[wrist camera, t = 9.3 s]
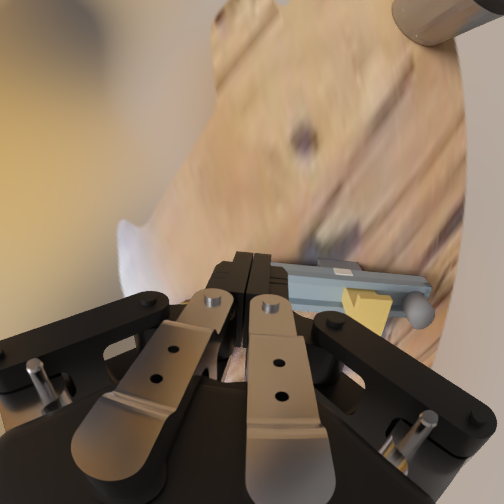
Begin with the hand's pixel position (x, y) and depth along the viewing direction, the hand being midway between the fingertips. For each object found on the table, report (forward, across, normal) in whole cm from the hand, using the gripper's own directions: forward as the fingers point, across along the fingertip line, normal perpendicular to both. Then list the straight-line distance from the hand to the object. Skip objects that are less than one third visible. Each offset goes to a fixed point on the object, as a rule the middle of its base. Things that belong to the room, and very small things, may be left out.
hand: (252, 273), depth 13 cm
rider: (+24, -13, +13) cm, 30 cm away
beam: (+29, -11, +13) cm, 33 cm away
